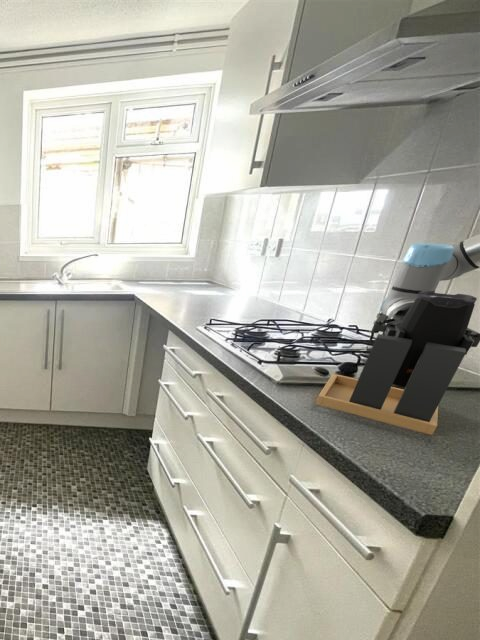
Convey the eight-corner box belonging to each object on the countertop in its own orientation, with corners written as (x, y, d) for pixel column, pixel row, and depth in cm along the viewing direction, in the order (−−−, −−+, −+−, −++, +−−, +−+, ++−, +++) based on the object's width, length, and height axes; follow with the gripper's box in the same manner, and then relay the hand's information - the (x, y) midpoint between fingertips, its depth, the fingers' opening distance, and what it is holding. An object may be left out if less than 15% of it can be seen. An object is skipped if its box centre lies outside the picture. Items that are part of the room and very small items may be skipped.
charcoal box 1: (378, 412, 87) (412, 339, 81) (377, 417, 85) (411, 343, 79) (348, 404, 91) (378, 333, 84) (345, 408, 89) (376, 337, 82)
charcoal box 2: (425, 424, 83) (465, 348, 76) (425, 429, 81) (466, 352, 74) (391, 415, 86) (427, 342, 80) (390, 420, 84) (426, 345, 78)
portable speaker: (416, 398, 83) (465, 301, 75) (364, 379, 91) (403, 291, 83) (445, 392, 85) (495, 298, 77) (391, 375, 94) (431, 288, 85)
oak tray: (432, 408, 91) (438, 397, 90) (430, 438, 79) (437, 426, 78) (328, 383, 103) (333, 373, 101) (314, 406, 91) (318, 395, 90)
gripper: (468, 342, 93) (504, 373, 76) (345, 325, 104) (353, 349, 88) (486, 309, 90) (527, 334, 73) (357, 295, 101) (367, 315, 85)
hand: (432, 342), depth 80 cm, fingers closed on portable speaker, 8 cm apart
